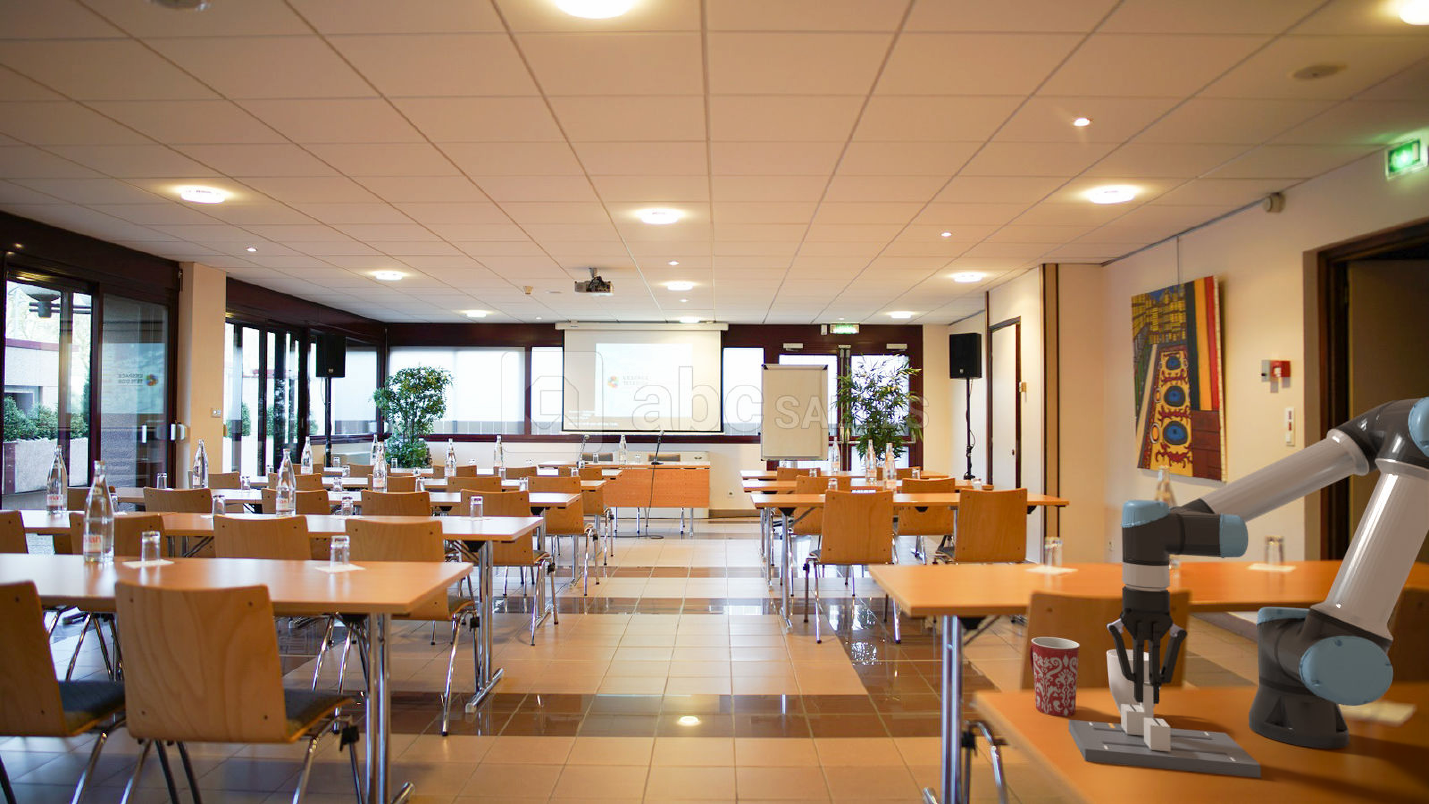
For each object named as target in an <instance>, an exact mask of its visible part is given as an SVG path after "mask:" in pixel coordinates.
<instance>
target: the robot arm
mask: <svg viewBox="0 0 1429 804" xmlns="http://www.w3.org/2000/svg"><path fill="white" fill-rule="evenodd" d="M1378 470H1379V471H1380V475H1379V478H1378V480H1377V483H1376V485H1375V487H1374V489H1373V492H1372V494H1371V496H1370V498H1369V501H1368V503H1367V506H1366V508H1365V509H1364V512H1363V514H1362V517H1361V518H1360V521H1359V523H1358V526H1357V528H1356V531H1355V532H1354V535H1353V537H1352V539H1351V542H1350V544H1349V546H1348V549H1347V551H1346V553H1345V555H1344V557H1343V560H1342V562H1341V565H1340V567H1339V569H1338V572H1337V574H1336V576H1335V578H1334V581H1333V583H1332V585H1331V588H1330V590H1329V592H1328V594H1327V597H1326V599H1325V600H1324V601H1323V602H1319V603H1316V604H1312V605H1311V606H1310V607H1309V608H1301V607H1300V608H1298V607H1297V608H1296V607H1280V606H1279V607H1278V606H1265V607H1261V608H1260V609H1259V610H1258V612H1257V618H1256V619H1257V621H1256V623H1255V626H1256V630H1257V631H1256V632H1257V635H1256V636H1257V661H1258V662H1257V664H1258V665H1257V666H1258V670H1257V671H1258V688H1257V690H1256V693H1255V696H1254V698H1253V700H1252V704H1251V706H1250V709H1249V712H1248V727H1249V728H1250V729H1251V730H1252V731H1253V732H1255V733H1256V734H1258V735H1261V736H1263V737H1266V738H1269V739H1271V740H1275V741H1279V742H1282V743H1286V744H1291V745H1296V746H1300V747H1301V746H1302V747H1308V748H1316V749H1341V748H1345V747H1347V746H1349V745H1350V731H1349V727H1348V725H1347V722H1346V720H1345V717H1344V714H1343V712H1342V709H1341V708H1340V705H1342V706H1349V707H1350V706H1351V707H1352V706H1353V707H1355V706H1356V707H1357V706H1363V705H1368V704H1370V703H1371V704H1372V703H1373V702H1376V701H1378V700H1379V699H1380V698H1382V697H1383V696H1384V695H1385V694H1386V692H1388V689H1390V686H1391V684H1392V682H1393V677H1394V671H1393V670H1394V669H1393V666H1392V664H1391V661H1390V658H1389V656H1388V652H1389V650H1390V648H1391V646H1392V643H1393V640H1394V637H1393V635H1392V634H1391V632H1390V630H1389V629H1388V621H1390V620H1389V619H1390V618H1391V615H1392V614H1393V611H1394V608H1395V606H1396V604H1397V602H1398V600H1399V597H1400V595H1401V593H1402V591H1403V588H1404V586H1405V583H1406V581H1407V579H1408V578H1409V575H1410V572H1411V570H1412V568H1413V566H1414V563H1415V561H1416V559H1417V556H1418V555H1419V553H1420V550H1421V548H1422V545H1423V543H1424V541H1425V539H1426V536H1427V534H1428V532H1429V396H1427V397H1420V398H1419V397H1418V398H1404V399H1396V400H1392V401H1388V402H1384V403H1382V404H1380V405H1377V406H1376V407H1374V408H1371V409H1369V410H1368V411H1367V410H1366V411H1365V412H1364V413H1361V414H1360V415H1359V414H1358V416H1355V417H1354V418H1352V419H1349V420H1348V421H1346V422H1343V423H1342V424H1340V425H1338V426H1336V427H1334V428H1331V429H1330V430H1328V432H1327V433H1326V438H1324V439H1322V440H1319V441H1318V442H1316V443H1313V444H1311V445H1309V446H1307V447H1305V448H1303V449H1301V450H1298V451H1296V452H1294V453H1292V454H1290V455H1288V456H1285V457H1284V458H1281V459H1279V460H1276V461H1275V462H1272V463H1270V464H1269V465H1266V466H1264V467H1262V468H1260V469H1258V470H1256V471H1254V472H1251V473H1248V474H1247V475H1245V476H1242V477H1240V478H1238V479H1237V480H1235V481H1232V482H1231V483H1228V484H1226V485H1224V486H1221V487H1219V488H1217V489H1215V490H1213V491H1211V492H1208V493H1206V494H1205V495H1203V496H1200V497H1198V498H1196V499H1194V500H1192V501H1190V502H1187V503H1185V504H1183V505H1181V506H1180V505H1179V506H1178V505H1176V506H1171V507H1170V506H1169V503H1168V502H1167V501H1162V500H1149V499H1148V500H1147V499H1130V500H1126V501H1125V502H1124V503H1123V505H1122V511H1121V512H1122V513H1121V524H1120V527H1121V543H1122V544H1121V547H1122V548H1121V549H1122V550H1121V551H1122V558H1121V559H1122V563H1121V564H1122V574H1121V576H1122V577H1121V581H1122V583H1123V584H1124V586H1123V587H1122V589H1121V591H1122V593H1121V594H1122V597H1121V598H1122V599H1121V600H1122V601H1121V602H1122V609H1121V612H1120V614H1119V619H1117V620H1115V621H1113V622H1107V623H1106V625H1105V627H1106V628H1107V630H1108V632H1109V633H1110V635H1111V636H1112V639H1113V644H1114V648H1115V649H1116V652H1117V655H1118V659H1119V663H1120V667H1121V671H1122V674H1123V676H1124V677H1125V678H1126V679H1127V680H1130V681H1133V682H1134V698H1135V700H1136V701H1137V702H1139V703H1140V707H1141V708H1142V709H1143V710H1144V712H1145V718H1154V708H1153V704H1155V705H1159V703H1160V691H1159V687H1161V688H1162V685H1164V684H1171V682H1172V680H1173V677H1174V672H1175V668H1176V665H1177V660H1178V657H1179V653H1180V649H1181V645H1182V643H1183V641H1184V640H1185V639H1186V638H1187V636H1188V631H1187V630H1185V629H1184V628H1182V627H1180V626H1178V625H1177V624H1175V623H1174V620H1173V618H1172V615H1171V604H1170V603H1171V599H1170V598H1171V593H1170V591H1169V590H1168V588H1169V587H1171V583H1170V582H1171V581H1170V580H1171V579H1170V555H1171V556H1172V555H1174V556H1180V555H1181V556H1195V557H1210V558H1211V557H1213V558H1221V559H1225V558H1240V557H1243V556H1244V555H1245V554H1246V552H1247V550H1248V546H1249V531H1248V526H1247V523H1248V522H1251V521H1253V520H1255V519H1256V518H1259V517H1262V516H1263V515H1265V514H1269V513H1270V512H1273V511H1275V510H1277V509H1279V508H1280V507H1281V508H1282V507H1283V506H1285V505H1287V504H1290V503H1292V502H1295V501H1297V500H1299V499H1300V498H1301V499H1302V498H1304V497H1306V496H1308V495H1310V494H1312V493H1314V492H1317V491H1318V490H1321V489H1323V488H1325V487H1327V486H1330V485H1332V484H1334V483H1337V482H1338V481H1340V480H1343V479H1345V478H1347V477H1349V476H1351V475H1357V476H1362V477H1363V476H1364V477H1365V476H1366V475H1368V474H1371V473H1372V472H1375V471H1378ZM1123 627H1124V628H1125V629H1126V631H1127V632H1128V634H1129V635H1130V636H1131V641H1132V650H1133V673H1132V671H1131V667H1130V664H1129V660H1128V656H1127V652H1126V645H1125V642H1124V637H1123V635H1122V634H1123V633H1124V629H1123ZM1167 633H1169V635H1170V637H1169V639H1168V642H1167V646H1166V650H1165V654H1164V658H1163V662H1162V666H1161V652H1160V651H1161V640H1162V638H1164V637H1165V635H1166V634H1167ZM1146 641H1147V644H1148V647H1147V648H1148V653H1149V681H1150V683H1149V682H1144V652H1145V642H1146ZM1160 670H1161V673H1160Z"/></svg>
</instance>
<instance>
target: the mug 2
mask: <svg viewBox="0 0 1429 804" xmlns="http://www.w3.org/2000/svg"><path fill="white" fill-rule="evenodd" d="M1126 652H1127V656H1128V660H1129V664H1130V667H1131V671H1132V673H1133V649H1126ZM1106 662H1107V664H1106V665H1107V674H1108V684H1109V686H1108V687H1109V691H1110V693H1111V696H1112V699H1113V701H1114V703H1115V705H1116V707H1117V710H1118V712H1119V715H1120V716H1121V704H1128V705H1129V704H1131V705H1139V706H1140V703H1139V702H1137V701H1136V700H1135V698H1134V682H1133V681H1130V680H1127V679H1126V678H1125V677H1124V676H1123V674H1122V671H1121V667H1120V663H1119V659H1118V655H1117V652H1116V648H1115V649H1108V650H1107V651H1106ZM1160 673H1161V669H1160ZM1144 682H1149V683H1150V681H1149V652H1145V651H1144ZM1161 688H1162V686H1161V687H1159V692H1160V690H1161ZM1155 705H1156V704H1153V709H1154V708H1155Z"/></svg>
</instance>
